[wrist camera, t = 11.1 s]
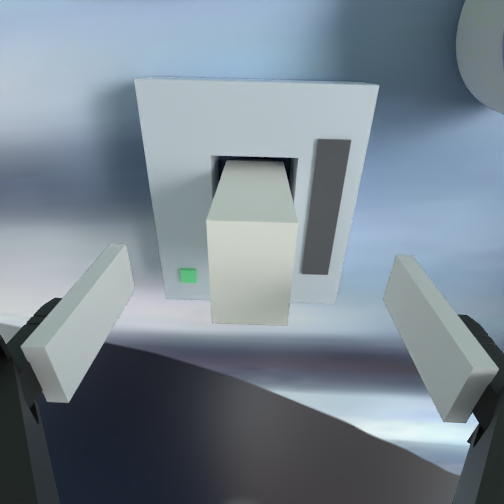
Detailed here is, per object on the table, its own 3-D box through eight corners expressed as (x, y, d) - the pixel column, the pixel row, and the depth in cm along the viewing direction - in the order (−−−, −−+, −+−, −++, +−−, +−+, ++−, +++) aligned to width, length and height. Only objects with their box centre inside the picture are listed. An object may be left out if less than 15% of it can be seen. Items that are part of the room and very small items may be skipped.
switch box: (360, 81, 22) (381, 85, 18) (326, 276, 30) (336, 306, 26) (153, 76, 22) (131, 78, 18) (176, 271, 30) (165, 301, 26)
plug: (281, 154, 24) (298, 223, 14) (276, 226, 27) (287, 325, 17) (228, 153, 24) (206, 220, 14) (229, 224, 27) (212, 323, 17)
